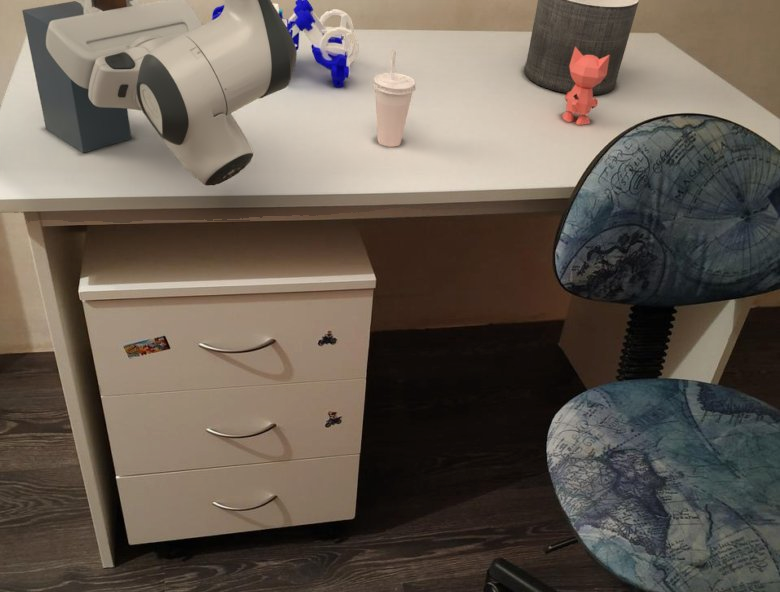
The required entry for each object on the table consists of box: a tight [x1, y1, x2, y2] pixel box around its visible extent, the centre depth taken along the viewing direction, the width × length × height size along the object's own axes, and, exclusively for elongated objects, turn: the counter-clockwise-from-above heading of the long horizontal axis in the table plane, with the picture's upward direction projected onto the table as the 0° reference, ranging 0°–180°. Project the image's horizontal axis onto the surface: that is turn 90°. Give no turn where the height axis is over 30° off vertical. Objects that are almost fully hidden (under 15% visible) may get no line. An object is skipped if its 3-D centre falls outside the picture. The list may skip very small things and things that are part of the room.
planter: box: [523, 0, 640, 96], centre depth 151 cm, size 18×18×16 cm
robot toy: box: [211, 0, 360, 88], centre depth 141 cm, size 16×12×25 cm
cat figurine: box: [561, 47, 610, 126], centre depth 136 cm, size 7×7×12 cm
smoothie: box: [372, 49, 416, 148], centre depth 122 cm, size 6×6×14 cm
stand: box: [21, 0, 132, 154], centre depth 114 cm, size 8×10×17 cm
